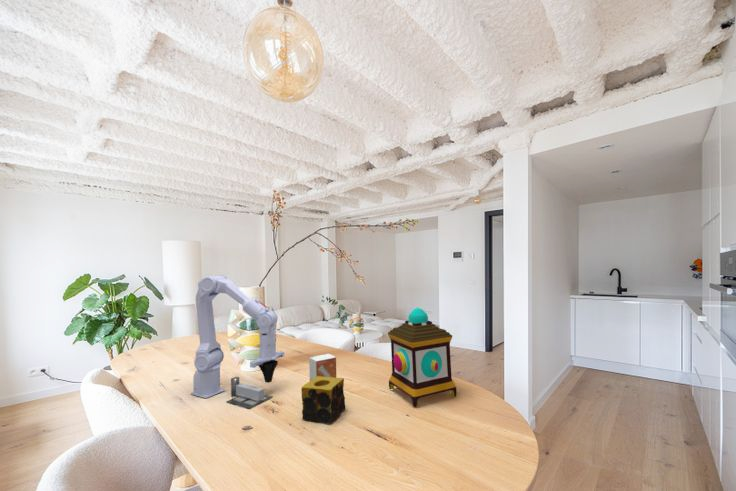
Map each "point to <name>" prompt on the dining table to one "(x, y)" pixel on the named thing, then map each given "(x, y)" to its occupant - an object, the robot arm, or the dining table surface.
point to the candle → (323, 399)
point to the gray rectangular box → (250, 392)
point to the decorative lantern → (421, 358)
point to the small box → (322, 366)
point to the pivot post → (234, 386)
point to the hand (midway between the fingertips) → (268, 381)
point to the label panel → (247, 401)
